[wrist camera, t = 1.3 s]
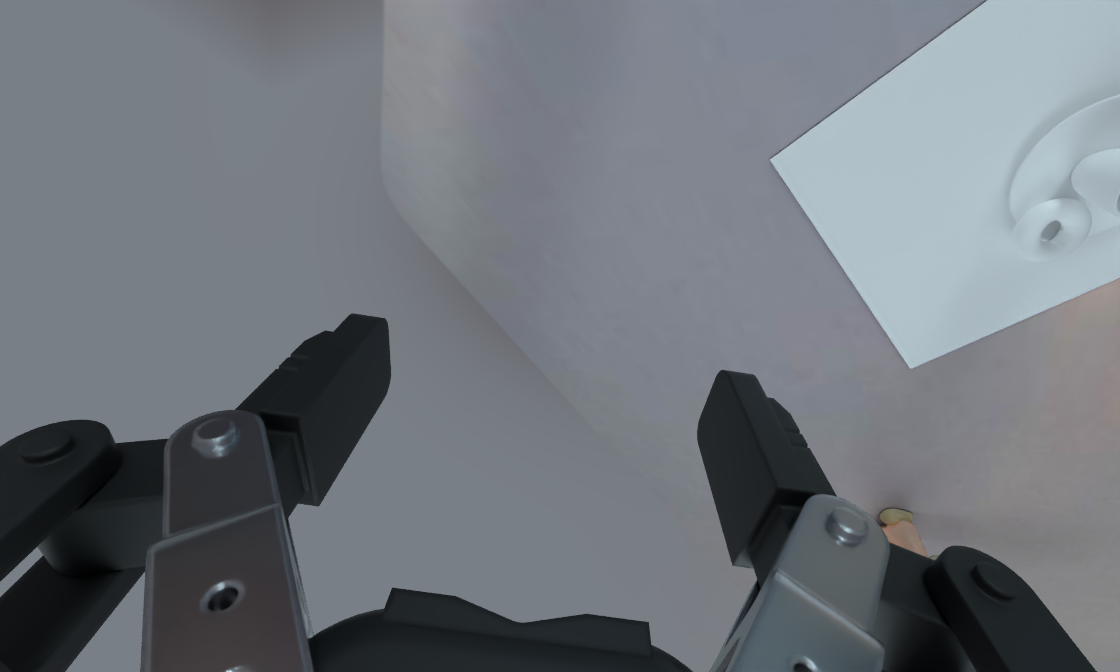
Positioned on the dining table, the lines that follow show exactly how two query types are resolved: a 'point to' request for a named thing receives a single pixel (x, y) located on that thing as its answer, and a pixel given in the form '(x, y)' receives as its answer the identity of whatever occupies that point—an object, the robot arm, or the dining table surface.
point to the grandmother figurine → (902, 531)
